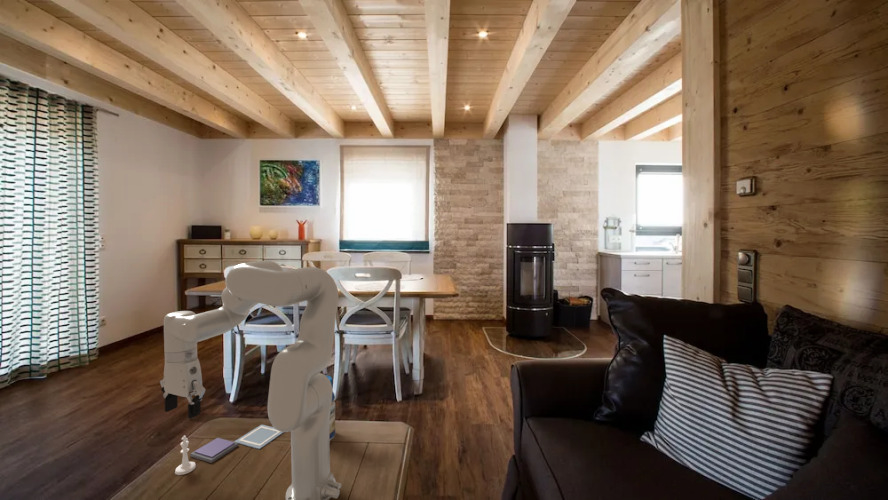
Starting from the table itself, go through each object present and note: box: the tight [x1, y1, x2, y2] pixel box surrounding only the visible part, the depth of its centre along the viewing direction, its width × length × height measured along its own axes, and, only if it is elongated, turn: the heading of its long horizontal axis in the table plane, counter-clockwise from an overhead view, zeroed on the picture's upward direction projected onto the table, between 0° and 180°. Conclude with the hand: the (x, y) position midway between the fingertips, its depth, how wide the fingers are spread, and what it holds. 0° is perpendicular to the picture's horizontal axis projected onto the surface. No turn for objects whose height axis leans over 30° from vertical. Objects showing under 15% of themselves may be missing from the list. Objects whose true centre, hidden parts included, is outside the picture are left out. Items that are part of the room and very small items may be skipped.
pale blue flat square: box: [233, 424, 285, 450], centre depth 119 cm, size 11×11×1 cm
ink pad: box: [189, 437, 239, 464], centre depth 111 cm, size 9×9×1 cm
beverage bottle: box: [325, 375, 336, 441], centre depth 118 cm, size 8×8×20 cm
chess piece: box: [174, 435, 197, 476], centre depth 102 cm, size 5×5×10 cm
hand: (182, 412), depth 102 cm, fingers open, 9 cm apart
